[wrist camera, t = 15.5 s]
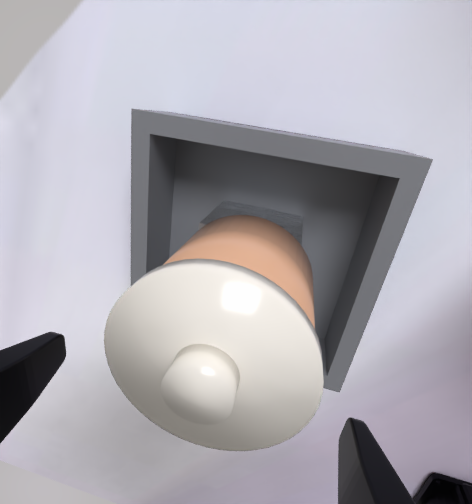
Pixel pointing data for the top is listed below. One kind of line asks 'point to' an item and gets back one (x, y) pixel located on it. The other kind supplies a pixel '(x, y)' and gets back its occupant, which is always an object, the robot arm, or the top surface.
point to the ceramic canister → (222, 338)
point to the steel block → (280, 218)
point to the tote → (279, 207)
